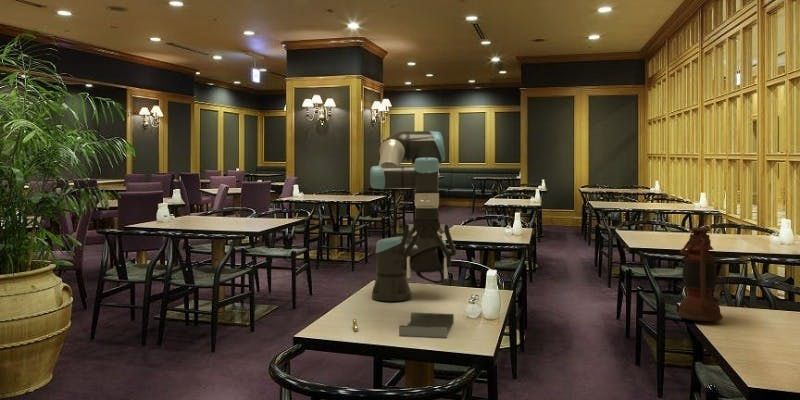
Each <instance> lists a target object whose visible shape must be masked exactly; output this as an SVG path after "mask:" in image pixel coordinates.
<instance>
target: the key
mask: <svg viewBox="0 0 800 400" xmlns="http://www.w3.org/2000/svg"><path fill="white" fill-rule="evenodd" d="M352 328H353V331H354V333H357V332H358V331H359V328H358V323H357V318H354V319H352Z"/></svg>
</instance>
